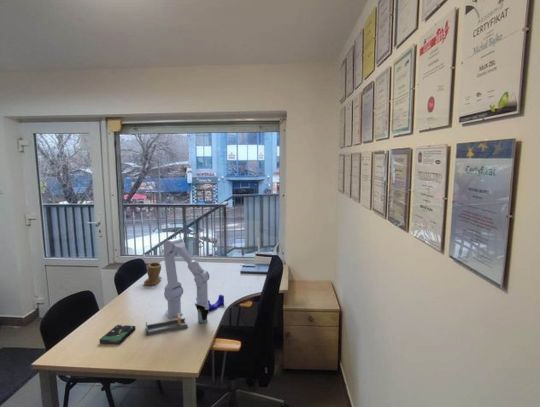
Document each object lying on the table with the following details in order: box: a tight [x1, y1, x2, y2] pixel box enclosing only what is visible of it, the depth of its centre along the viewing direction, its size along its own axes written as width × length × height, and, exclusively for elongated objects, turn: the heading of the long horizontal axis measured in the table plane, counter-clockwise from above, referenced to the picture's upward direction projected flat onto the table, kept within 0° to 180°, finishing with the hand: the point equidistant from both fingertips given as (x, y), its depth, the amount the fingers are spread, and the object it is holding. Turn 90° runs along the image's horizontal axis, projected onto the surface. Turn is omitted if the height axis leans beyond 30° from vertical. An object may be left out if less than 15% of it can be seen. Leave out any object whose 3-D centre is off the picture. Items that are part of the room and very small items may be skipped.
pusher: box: [176, 313, 182, 325], centre depth 168 cm, size 6×1×5 cm, turn 24°
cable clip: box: [208, 294, 225, 312], centre depth 191 cm, size 12×4×6 cm, turn 135°
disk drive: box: [99, 324, 136, 346], centre depth 157 cm, size 10×3×15 cm
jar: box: [197, 307, 208, 324], centre depth 173 cm, size 5×5×7 cm
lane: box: [144, 317, 189, 337], centre depth 166 cm, size 8×21×3 cm, turn 114°
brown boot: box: [143, 261, 163, 286], centre depth 234 cm, size 15×12×15 cm
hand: (202, 317), depth 173 cm, fingers closed on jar, 5 cm apart
